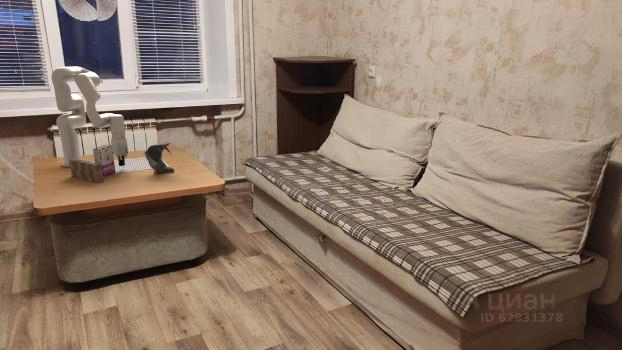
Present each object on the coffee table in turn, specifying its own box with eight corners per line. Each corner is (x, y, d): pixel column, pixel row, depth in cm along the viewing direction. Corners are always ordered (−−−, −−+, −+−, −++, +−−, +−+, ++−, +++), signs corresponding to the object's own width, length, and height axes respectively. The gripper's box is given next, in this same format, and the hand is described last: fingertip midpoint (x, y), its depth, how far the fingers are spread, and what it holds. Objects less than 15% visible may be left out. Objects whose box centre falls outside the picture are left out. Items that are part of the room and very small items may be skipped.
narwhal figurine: (146, 170, 266) (143, 141, 261) (173, 168, 271) (170, 139, 266) (146, 176, 253) (143, 146, 248) (174, 174, 258) (172, 144, 253)
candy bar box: (108, 171, 264) (104, 144, 259) (115, 171, 263) (112, 144, 258) (95, 176, 253) (92, 148, 249) (103, 177, 252) (100, 149, 248)
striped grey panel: (71, 176, 252) (69, 159, 250) (76, 175, 255) (74, 158, 252) (98, 183, 241) (95, 165, 238) (103, 181, 243) (100, 164, 241)
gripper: (104, 135, 262) (108, 165, 267) (121, 138, 255) (125, 168, 260) (115, 133, 268) (119, 162, 273) (132, 136, 261) (135, 166, 266)
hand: (122, 165), depth 267 cm, fingers closed
